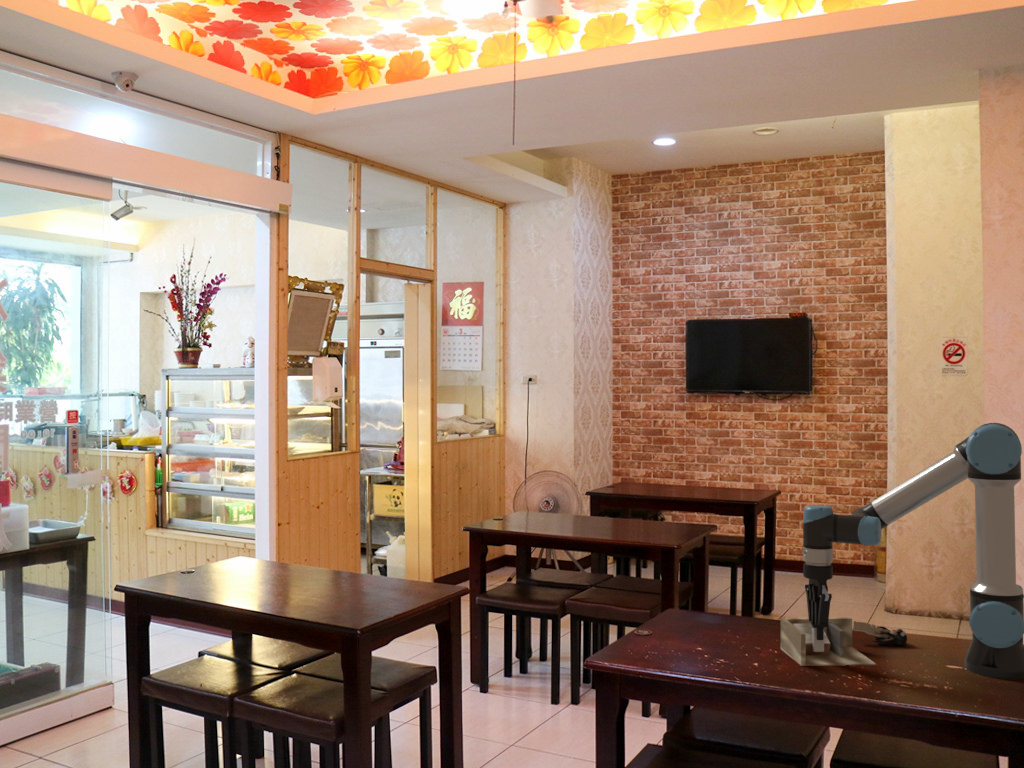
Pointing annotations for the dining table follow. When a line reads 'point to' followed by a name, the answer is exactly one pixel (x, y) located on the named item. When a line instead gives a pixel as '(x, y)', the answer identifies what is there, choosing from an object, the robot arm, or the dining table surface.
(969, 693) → the dining table surface
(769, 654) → the dining table surface
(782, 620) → the shelf
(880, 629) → the toy figure
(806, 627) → the tall mauve wooden block
